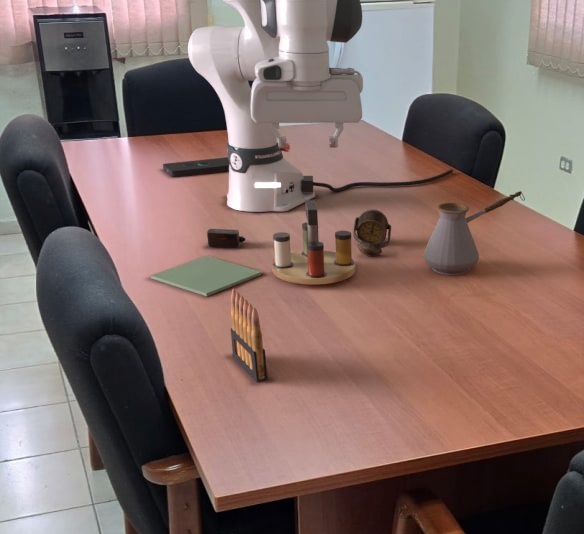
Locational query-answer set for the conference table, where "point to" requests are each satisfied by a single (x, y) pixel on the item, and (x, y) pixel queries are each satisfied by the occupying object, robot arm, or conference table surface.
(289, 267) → the spice carousel
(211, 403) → the conference table surface
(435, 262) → the coffee pot
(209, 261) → the sage mat
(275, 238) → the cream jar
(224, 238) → the black box with knob
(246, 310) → the ammunition clip
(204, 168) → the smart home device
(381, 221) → the vintage desk clock
